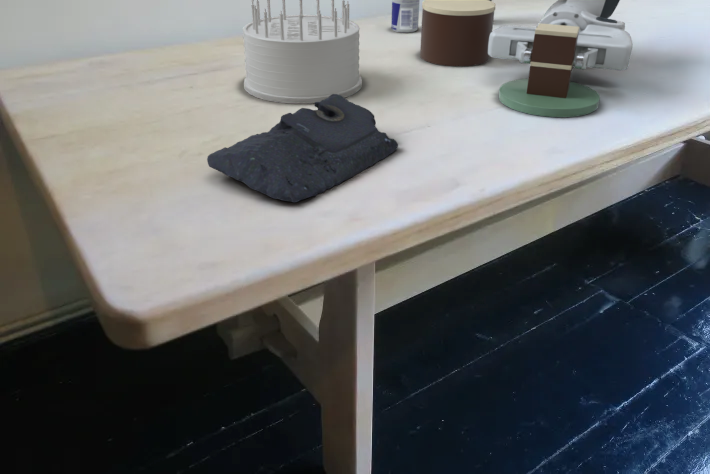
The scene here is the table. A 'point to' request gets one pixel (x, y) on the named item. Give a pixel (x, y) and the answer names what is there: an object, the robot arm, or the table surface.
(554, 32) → the cake slice
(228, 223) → the table surface
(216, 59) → the table surface
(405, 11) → the energy drink
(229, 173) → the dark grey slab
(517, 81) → the plate
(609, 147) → the table surface
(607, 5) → the robot arm
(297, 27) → the cake
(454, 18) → the cake
